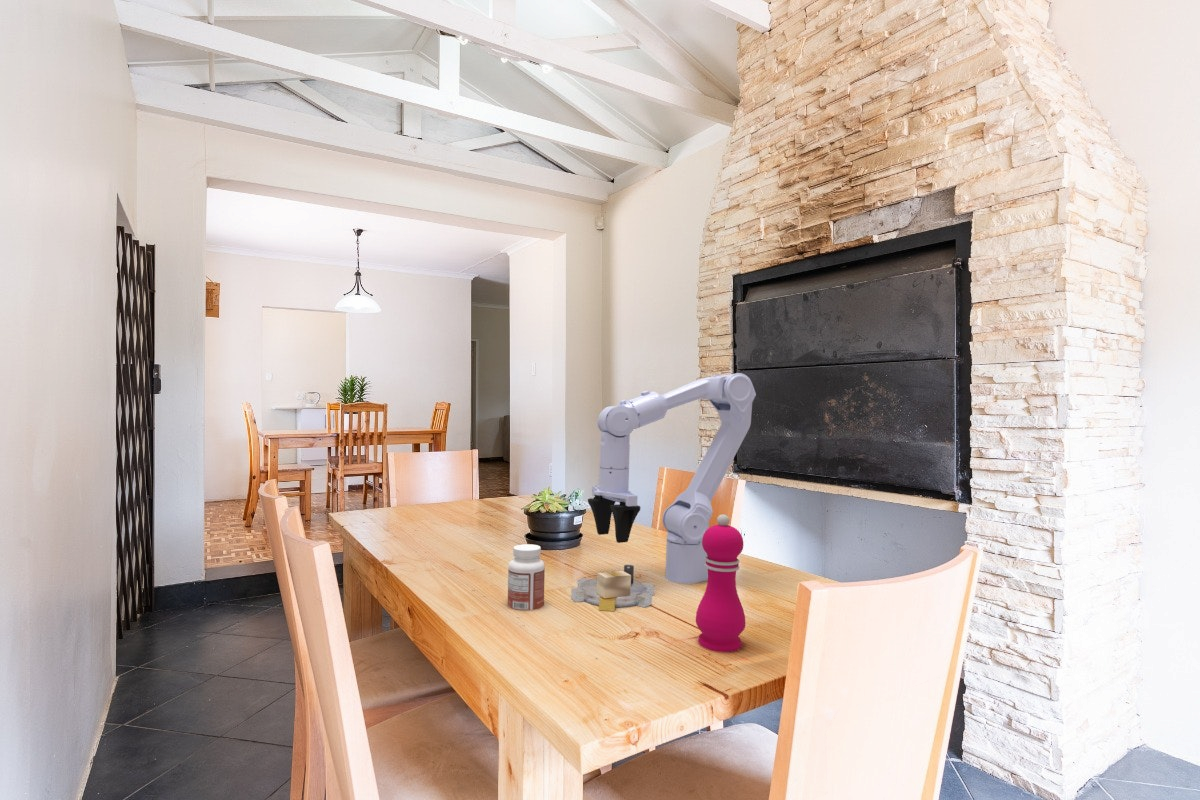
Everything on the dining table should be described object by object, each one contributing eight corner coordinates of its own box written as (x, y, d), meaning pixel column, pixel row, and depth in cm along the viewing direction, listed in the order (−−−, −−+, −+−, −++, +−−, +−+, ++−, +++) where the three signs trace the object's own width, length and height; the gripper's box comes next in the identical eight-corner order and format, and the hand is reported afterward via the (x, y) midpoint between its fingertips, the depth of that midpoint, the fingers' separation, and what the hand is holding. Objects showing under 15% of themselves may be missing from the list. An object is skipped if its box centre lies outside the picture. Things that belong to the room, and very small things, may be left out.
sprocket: (582, 582, 122) (582, 557, 122) (656, 587, 120) (656, 562, 120) (564, 607, 107) (565, 579, 107) (649, 614, 104) (650, 585, 104)
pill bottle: (536, 604, 112) (538, 541, 112) (549, 615, 106) (551, 549, 106) (502, 608, 109) (504, 544, 109) (513, 620, 103) (515, 552, 104)
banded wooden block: (621, 590, 111) (622, 570, 111) (630, 595, 109) (631, 574, 109) (596, 593, 109) (597, 572, 109) (604, 598, 106) (605, 577, 106)
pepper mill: (734, 664, 88) (738, 521, 88) (686, 652, 92) (690, 514, 92) (751, 648, 94) (755, 514, 94) (706, 637, 98) (709, 508, 98)
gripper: (579, 464, 127) (577, 532, 127) (614, 472, 114) (612, 547, 114) (609, 463, 130) (608, 529, 130) (647, 471, 117) (645, 544, 117)
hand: (612, 538), depth 122 cm, fingers open, 7 cm apart
